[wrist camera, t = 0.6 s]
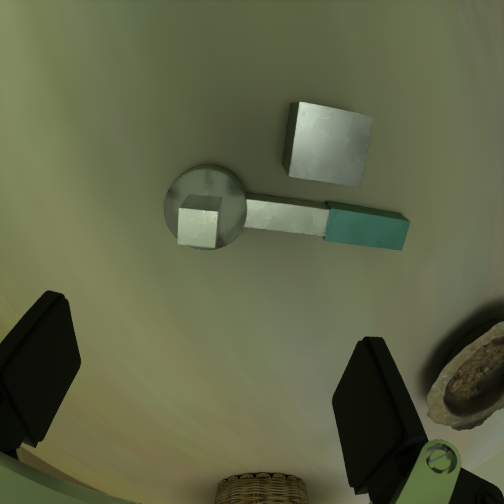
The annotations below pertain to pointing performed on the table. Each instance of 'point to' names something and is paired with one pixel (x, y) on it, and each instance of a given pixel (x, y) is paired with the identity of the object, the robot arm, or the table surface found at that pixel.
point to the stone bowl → (471, 380)
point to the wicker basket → (261, 490)
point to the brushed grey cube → (326, 144)
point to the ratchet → (268, 214)
